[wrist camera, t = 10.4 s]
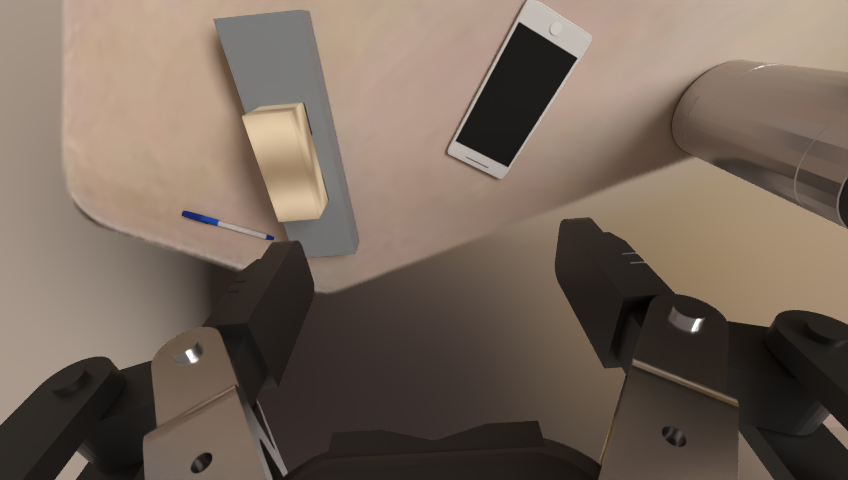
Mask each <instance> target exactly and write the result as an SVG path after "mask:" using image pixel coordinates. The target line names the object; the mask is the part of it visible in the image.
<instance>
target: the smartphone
mask: <svg viewBox="0 0 848 480" xmlns="http://www.w3.org/2000/svg"><path fill="white" fill-rule="evenodd" d="M591 40H592V35H590V34H589V33H587V32H586V31H584V30H582V29H581V28H579V27H578V26H576V25H575V24H573V23H572V22H570V21H569V20H567V19H565V18H564V17H562V16H561V15H559V14H558V13H556V12H555V11H553V10H552V9H550V8H548V7H547V6H545V5H544V4H542V3H541V2H539V1H538V0H526V2H525V3H524V5H523V7H522V9H521V11H520V12H519V14H518V16H517V18H516V20H515V22H514V24H513V26H512V28H511V29H510V31H509V33H508V35H507V37H506V39H505V41H504V43H503V45H502V46H501V48H500V50H499V52H498V54H497V56H496V58H495V60H494V62H493V63H492V65H491V67H490V69H489V71H488V73H487V75H486V77H485V79H484V81H483V82H482V84H481V86H480V88H479V90H478V92H477V94H476V96H475V98H474V99H473V101H472V103H471V105H470V107H469V109H468V111H467V113H466V115H465V116H464V118H463V120H462V122H461V124H460V126H459V128H458V130H457V132H456V133H455V135H454V137H453V139H452V141H451V143H450V145H449V147H448V154H449V155H451V156H453V157H456V158H458V159H460V160H462V161H464V162H466V163H468V164H470V165H472V166H474V167H476V168H478V169H480V170H482V171H484V172H486V173H488V174H490V175H493V176H495V177H497V178H499V179H502V178H504V177H505V175H506V174H507V172H508V171H509V169H510V168H511V166H512V164H513V163H514V161H515V160H516V158H517V157H518V155H519V154H520V152H521V150H522V149H523V147H524V146H525V144H526V143H527V141H528V139H529V138H530V136H531V135H532V133H533V132H534V130H535V129H536V127H537V125H538V124H539V122H540V121H541V119H542V118H543V116H544V115H545V113H546V111H547V110H548V108H549V107H550V105H551V104H552V102H553V100H554V99H555V97H556V96H557V94H558V93H559V91H560V90H561V88H562V86H563V85H564V83H565V82H566V80H567V79H568V77H569V75H570V74H571V72H572V71H573V69H574V68H575V66H576V65H577V63H578V61H579V60H580V58H581V57H582V55H583V54H584V52H585V51H586V49H587V47H588V46H589V44H590V42H591Z"/></svg>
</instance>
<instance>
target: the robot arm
mask: <svg viewBox="0 0 848 480" xmlns="http://www.w3.org/2000/svg"><path fill="white" fill-rule="evenodd" d="M672 134H673V137H674V140H675V142H676V143H677V145H678V146H679V147H680V148H681V149H683V150H684V151H685V152H687V153H689V154H692V155H694V156H696V157H698V158H700V159H702V160H704V161H706V162H708V163H710V164H712V165H714V166H716V167H718V168H721V169H723V170H725V171H727V172H729V173H731V174H733V175H735V176H737V177H740V178H741V179H743V180H746V181H748V182H750V183H752V184H754V185H756V186H758V187H760V188H762V189H764V190H766V191H769V192H771V193H773V194H775V195H777V196H779V197H781V198H783V199H785V200H787V201H789V202H791V203H794V204H796V205H798V206H800V207H802V208H804V209H806V210H808V211H810V212H813V213H815V214H817V215H819V216H821V217H823V218H825V219H827V220H830V221H832V222H834V223H836V224H838V225H840V226H843V227H845V228H847V229H848V72H842V71H833V70H824V69H815V68H806V67H797V66H788V65H781V64H772V63H763V62H753V61H744V60H740V61H731V62H728V63H724V64H721V65H719V66H717V67H715V68H713V69H711V70H709V71H708V72H706V73H705V74H703V75H702V76H701V77H699V78H698V79H697V80H696V81H695V82H694V83H693V84H692V85H691V86H690V87H689V88H688V90H687V91H686V92H685V93H684V95H683V96H682V98H681V100H680V101H679V103H678V105H677V107H676V110H675V113H674V115H673V121H672ZM555 272H556V277H557V280H558V283H559V284H560V286H561V288H562V290H563V292H564V294H565V296H566V298H567V299H568V301H569V303H570V305H571V307H572V309H573V311H574V313H575V314H576V316H577V318H578V320H579V322H580V324H581V326H582V328H583V329H584V331H585V333H586V335H587V337H588V339H589V341H590V343H591V344H592V346H593V348H594V350H595V352H596V354H597V356H598V358H599V359H600V361H601V363H602V365H603V367H604V368H617V367H622V368H623V370H624V372H625V374H626V377H625V380H624V383H623V386H622V389H621V392H620V396H619V399H618V402H617V406H616V409H615V413H614V416H613V419H612V422H611V425H610V429H609V432H608V435H607V438H606V442H605V445H604V448H603V451H602V454H601V458H600V460H599V463H597V462H596V461H595V460H593V459H592V458H590V457H589V456H587V455H585V454H583V453H582V452H580V451H578V450H576V449H574V448H572V447H569V446H567V445H565V444H562V443H559V442H556V441H553V440H550V439H546V438H543V436H542V433H541V430H540V426H539V423H538V421H525V422H508V423H490V424H484V425H481V426H478V427H475V428H472V429H469V430H466V431H463V432H460V433H457V434H454V435H451V436H448V437H445V438H442V439H438V440H427V439H423V438H418V437H413V436H409V435H404V434H399V433H395V432H390V431H385V430H370V431H353V432H336V433H332V437H331V441H330V446H329V450H328V451H325V452H322V453H320V454H318V455H316V456H314V457H312V458H310V459H308V460H306V461H305V462H303V463H301V464H300V465H298V466H297V467H295V468H294V469H293V470H291V471H290V472H289V473H288V472H287V470H286V468H285V466H284V464H283V462H282V459H281V457H280V454H279V452H278V449H277V447H276V445H275V442H274V440H273V437H272V434H271V432H270V430H269V427H268V425H267V422H266V420H265V417H264V414H263V413H262V409H261V407H260V405H259V403H258V401H257V397H258V394H259V392H260V390H261V389H268V388H278V387H279V385H280V382H281V380H282V377H283V375H284V372H285V370H286V367H287V364H288V362H289V359H290V357H291V354H292V352H293V349H294V347H295V344H296V342H297V339H298V336H299V334H300V331H301V329H302V326H303V324H304V321H305V318H306V316H307V313H308V311H309V308H310V306H311V303H312V301H313V297H314V281H313V278H312V275H311V271H310V268H309V265H308V262H307V259H306V256H305V253H304V250H303V247H302V244H301V243H300V242H299V241H298V240H294V241H281V242H273V243H271V245H270V246H269V248H268V249H267V250H266V252H265V253H264V255H263V256H262V258H261V259H257V260H255V261H254V262H253V263H251V264H250V265H249V266H247V267H246V268H245V269H243V271H242V272H241V273H240V275H239V276H238V277H237V279H236V280H235V284H232V286H231V287H230V288H229V290H228V294H225V296H224V297H223V298H222V300H221V301H220V302H219V304H218V305H217V307H216V308H215V309H214V311H213V312H212V314H211V315H210V316H209V317H208V319H207V320H206V322H205V323H204V324H203V326H202V327H199V328H195V329H191V330H188V331H186V332H184V333H181V334H179V335H177V336H176V337H174V338H172V339H171V340H170V341H168V342H167V343H166V344H165V345H163V346H162V347H161V348H160V349H159V350H158V352H157V353H156V354H155V356H154V358H153V360H152V361H148V362H145V363H142V364H138V365H135V366H132V367H129V368H125V369H122V370H118V368H117V367H116V366H115V365H114V364H113V363H112V361H111V360H110V359H109V358H106V357H92V358H88V359H84V360H81V361H79V362H76V363H74V364H71V365H69V366H67V367H66V368H64V369H62V370H60V371H59V372H57V373H55V374H54V375H53V376H51V377H50V378H48V379H47V380H46V381H45V382H43V383H42V384H41V385H40V386H39V387H38V388H37V389H36V390H35V391H34V392H33V393H32V394H31V395H30V396H29V397H28V398H27V399H26V400H25V401H24V402H23V403H22V404H21V405H20V406H19V407H18V408H17V409H16V410H15V411H14V412H13V413H12V414H11V415H10V416H9V417H8V418H7V419H6V420H5V421H4V422H3V423H2V424H1V425H0V480H55V479H56V477H57V476H58V474H59V473H60V472H61V471H62V469H63V467H65V465H66V464H67V463H68V461H69V460H70V459H71V457H72V456H73V455H74V453H75V452H76V451H77V452H79V453H80V454H81V455H82V456H83V457H84V458H86V459H87V460H88V461H89V462H88V463H87V465H86V466H85V468H84V469H83V470H82V472H81V473H80V475H79V476H78V477H77V479H76V480H738V471H739V470H738V468H739V464H738V463H739V431H740V433H741V434H742V435H743V437H744V438H745V440H746V441H747V442H748V444H749V445H750V447H751V448H752V449H753V451H754V452H755V453H756V455H757V456H758V458H759V459H760V461H761V462H762V463H763V465H764V466H765V468H766V469H767V470H768V471H769V473H770V474H771V476H772V477H773V479H774V480H848V450H847V449H846V448H845V446H844V445H843V444H842V443H841V442H840V441H839V440H838V439H837V438H836V437H835V436H834V435H833V434H832V433H831V432H830V431H829V429H828V428H827V427H826V426H825V425H824V424H823V423H822V422H823V421H824V420H825V419H826V418H827V417H828V416H829V414H830V413H831V414H832V415H833V416H834V417H835V418H836V419H837V420H838V421H839V422H840V423H841V424H842V425H843V427H844V428H846V430H847V431H848V325H847V324H845V323H843V322H841V321H839V320H836V319H833V318H831V317H828V316H825V315H822V314H818V313H814V312H809V311H801V310H789V311H784V312H781V313H779V314H778V315H777V316H776V317H775V319H774V321H773V323H772V324H771V326H770V327H764V326H757V325H750V324H743V323H737V322H730V321H727V320H726V318H725V317H724V316H723V315H722V314H721V312H719V311H718V310H717V309H716V308H714V307H713V306H711V305H709V304H708V303H706V302H704V301H701V300H699V299H696V298H694V297H690V296H686V295H681V294H675V293H674V292H673V291H672V290H671V289H670V288H669V287H668V286H667V285H666V283H665V282H663V280H662V279H661V278H660V277H659V276H658V275H657V274H656V273H655V272H654V271H653V270H652V269H651V268H650V267H649V266H648V265H647V264H646V263H644V260H643V259H642V258H641V257H640V256H639V255H638V254H636V253H635V251H634V250H633V249H632V248H631V246H630V245H629V244H628V243H627V242H626V241H624V240H622V239H621V238H619V237H617V236H615V235H614V234H612V233H610V232H605V233H604V232H602V230H601V229H600V228H599V227H598V226H597V224H596V223H595V222H594V221H593V220H592V219H591V218H589V217H587V218H575V219H564V220H562V221H561V224H560V228H559V235H558V243H557V251H556V258H555Z"/></svg>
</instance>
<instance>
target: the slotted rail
mask: <svg viewBox="0 0 848 480" xmlns="http://www.w3.org/2000/svg"><path fill="white" fill-rule="evenodd" d="M213 20H214V23H215V26H216V29H217V32H218V35H219V37H220V40H221V43H222V46H223V49H224V52H225V55H226V58H227V61H228V64H229V67H230V70H231V73H232V76H233V78H234V81H235V84H236V87H237V90H238V93H239V96H240V99H241V102H242V105H243V108H244V111H245V114H247V113H249V112H251V111H253V110H255V109H257V108H259V107H261V106H271V105H282V104H292V103H302V102H304V104H305V107H306V111H307V115H308V119H309V123H310V127H311V128H310V132H311V136H312V140H313V144H314V147H315V151H316V155H317V159H318V163H319V167H320V171H321V174H322V175H323V179H324V183H325V187H326V194H327V198H328V202H327V204H326V206H325V208H324V210H323V212H322V214H321V216H320V218H319V219H309V220H297V221H285V222H283V225H284V228H285V231H286V234H287V236H288V239H289V241H294V240H298V241H299V242H300V243H301V244H302V247H303V250H304V253H305V256H306V258H310V257H323V256H336V255H348V254H356V250H357V247H358V243H359V237H358V233H357V228H356V223H355V219H354V214H353V210H352V205H351V200H350V196H349V191H348V187H347V182H346V177H345V173H344V168H343V164H342V159H341V154H340V150H339V145H338V141H337V136H336V131H335V127H334V122H333V118H332V113H331V109H330V104H329V99H328V95H327V90H326V86H325V81H324V76H323V72H322V67H321V63H320V58H319V53H318V49H317V44H316V40H315V35H314V30H313V26H312V21H311V17H310V12H309V11H304V10H294V11H285V12H275V13H266V14H256V15H247V16H237V17H228V18H219V19H213Z"/></svg>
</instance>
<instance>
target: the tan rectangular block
mask: <svg viewBox="0 0 848 480" xmlns="http://www.w3.org/2000/svg"><path fill="white" fill-rule="evenodd" d="M242 119H243V122H244V125H245V128H246V130H247V133H248V136H249V139H250V142H251V145H252V148H253V150H254V153H255V156H256V159H257V162H258V165H259V167H260V170H261V173H262V176H263V179H264V182H265V184H266V187H267V190H268V193H269V196H270V199H271V202H272V204H273V207H274V210H275V213H276V216H277V219H278V221H279V222H285V221H297V220H309V219H319V218H320V216H321V214H322V212H323V210H324V208H325V206H326V204H327V202H328V198H327V194H326V190H325V183H324V179H323V175H322V174H321V171H320V167H319V163H318V159H317V155H316V151H315V147H314V144H313V140H312V136H311V132H310V128H309V124H308V122H309V119H308V115H307V111H306V107H305V106H304V105H303V102H302V103H292V104H282V105H271V106H261V107H259V108H257V109H255V110H253V111H251V112H249V113H247V114H245V115H243V116H242Z"/></svg>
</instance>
